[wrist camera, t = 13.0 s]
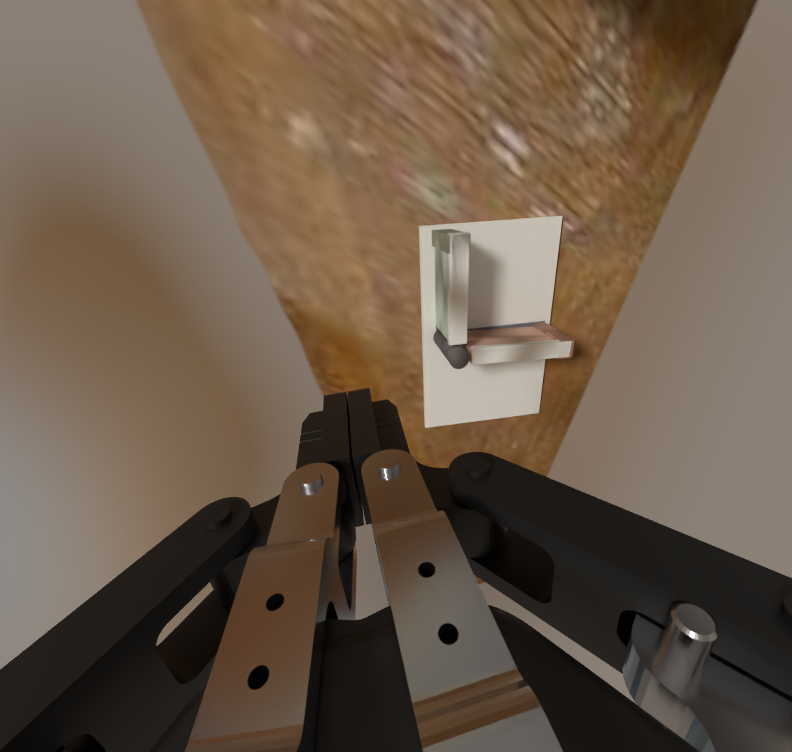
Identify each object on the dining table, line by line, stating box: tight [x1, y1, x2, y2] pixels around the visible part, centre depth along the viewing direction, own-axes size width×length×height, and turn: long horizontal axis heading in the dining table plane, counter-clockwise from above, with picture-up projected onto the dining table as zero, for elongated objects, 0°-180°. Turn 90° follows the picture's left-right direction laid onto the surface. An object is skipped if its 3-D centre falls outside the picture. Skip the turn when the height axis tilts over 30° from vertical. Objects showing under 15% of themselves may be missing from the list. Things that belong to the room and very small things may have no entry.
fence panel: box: [460, 323, 575, 365], centre depth 38 cm, size 10×2×6 cm, turn 91°
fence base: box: [432, 229, 471, 369], centre depth 35 cm, size 12×2×6 cm, turn 3°
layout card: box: [419, 216, 563, 428], centre depth 41 cm, size 22×14×1 cm, turn 3°
